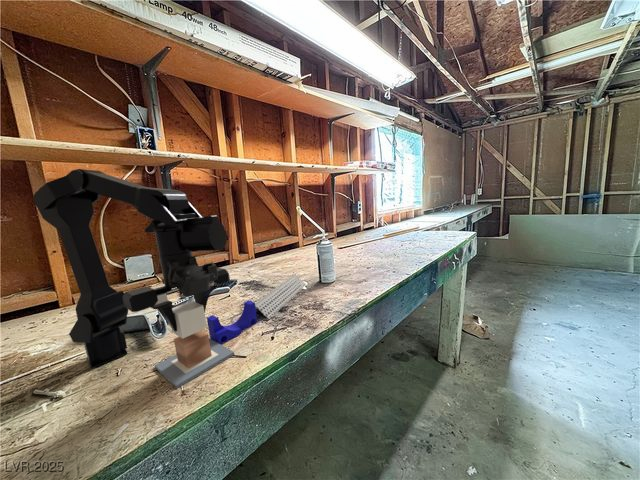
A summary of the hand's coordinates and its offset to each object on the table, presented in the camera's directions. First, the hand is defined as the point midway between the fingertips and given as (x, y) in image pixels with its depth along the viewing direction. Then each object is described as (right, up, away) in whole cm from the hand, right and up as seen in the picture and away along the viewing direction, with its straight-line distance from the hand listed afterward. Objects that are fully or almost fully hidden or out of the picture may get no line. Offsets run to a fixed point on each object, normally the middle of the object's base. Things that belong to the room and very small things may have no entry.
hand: (188, 325), depth 53 cm
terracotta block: (+1, -7, +1) cm, 8 cm away
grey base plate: (+1, -8, +1) cm, 8 cm away
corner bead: (+14, -3, +33) cm, 36 cm away
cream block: (0, -1, 0) cm, 1 cm away
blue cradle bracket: (+6, -6, +13) cm, 16 cm away
